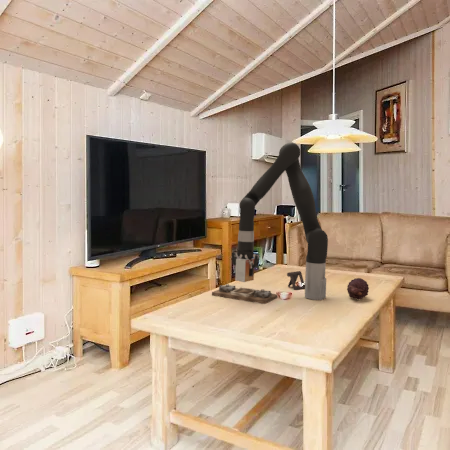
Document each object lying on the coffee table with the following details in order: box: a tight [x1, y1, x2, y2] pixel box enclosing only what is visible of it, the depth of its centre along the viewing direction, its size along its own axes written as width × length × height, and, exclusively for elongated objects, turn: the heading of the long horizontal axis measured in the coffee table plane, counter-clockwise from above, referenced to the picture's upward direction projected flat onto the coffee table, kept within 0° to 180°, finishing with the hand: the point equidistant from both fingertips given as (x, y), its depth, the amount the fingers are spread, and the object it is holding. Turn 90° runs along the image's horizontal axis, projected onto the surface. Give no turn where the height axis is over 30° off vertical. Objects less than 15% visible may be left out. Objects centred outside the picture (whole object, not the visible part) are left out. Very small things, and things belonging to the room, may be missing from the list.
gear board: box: [211, 283, 278, 305], centre depth 204 cm, size 28×14×4 cm, turn 60°
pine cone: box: [346, 277, 370, 300], centre depth 204 cm, size 18×10×10 cm, turn 161°
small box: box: [234, 257, 255, 283], centre depth 203 cm, size 8×6×10 cm
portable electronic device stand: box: [286, 270, 305, 291], centre depth 224 cm, size 9×8×8 cm
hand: (244, 275), depth 203 cm, fingers closed on small box, 6 cm apart
